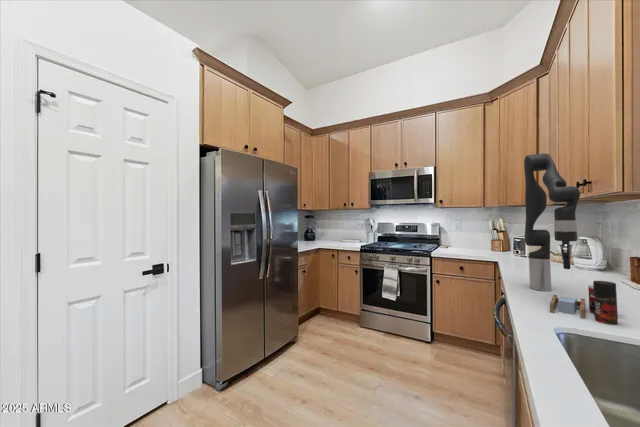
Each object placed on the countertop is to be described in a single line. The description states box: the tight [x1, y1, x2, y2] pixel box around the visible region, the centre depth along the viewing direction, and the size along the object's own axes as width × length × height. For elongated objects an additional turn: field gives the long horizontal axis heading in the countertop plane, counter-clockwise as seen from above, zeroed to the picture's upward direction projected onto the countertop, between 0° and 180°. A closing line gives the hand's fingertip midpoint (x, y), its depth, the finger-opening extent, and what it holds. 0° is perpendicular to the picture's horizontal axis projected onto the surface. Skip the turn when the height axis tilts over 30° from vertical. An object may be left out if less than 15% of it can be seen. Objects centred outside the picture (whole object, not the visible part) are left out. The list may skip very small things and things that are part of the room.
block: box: [557, 296, 578, 316], centre depth 113 cm, size 8×5×5 cm, turn 131°
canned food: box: [587, 284, 618, 315], centre depth 109 cm, size 8×8×11 cm
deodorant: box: [592, 280, 619, 325], centre depth 101 cm, size 6×6×15 cm
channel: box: [549, 294, 586, 319], centre depth 114 cm, size 19×10×4 cm, turn 134°
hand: (567, 268), depth 119 cm, fingers closed
